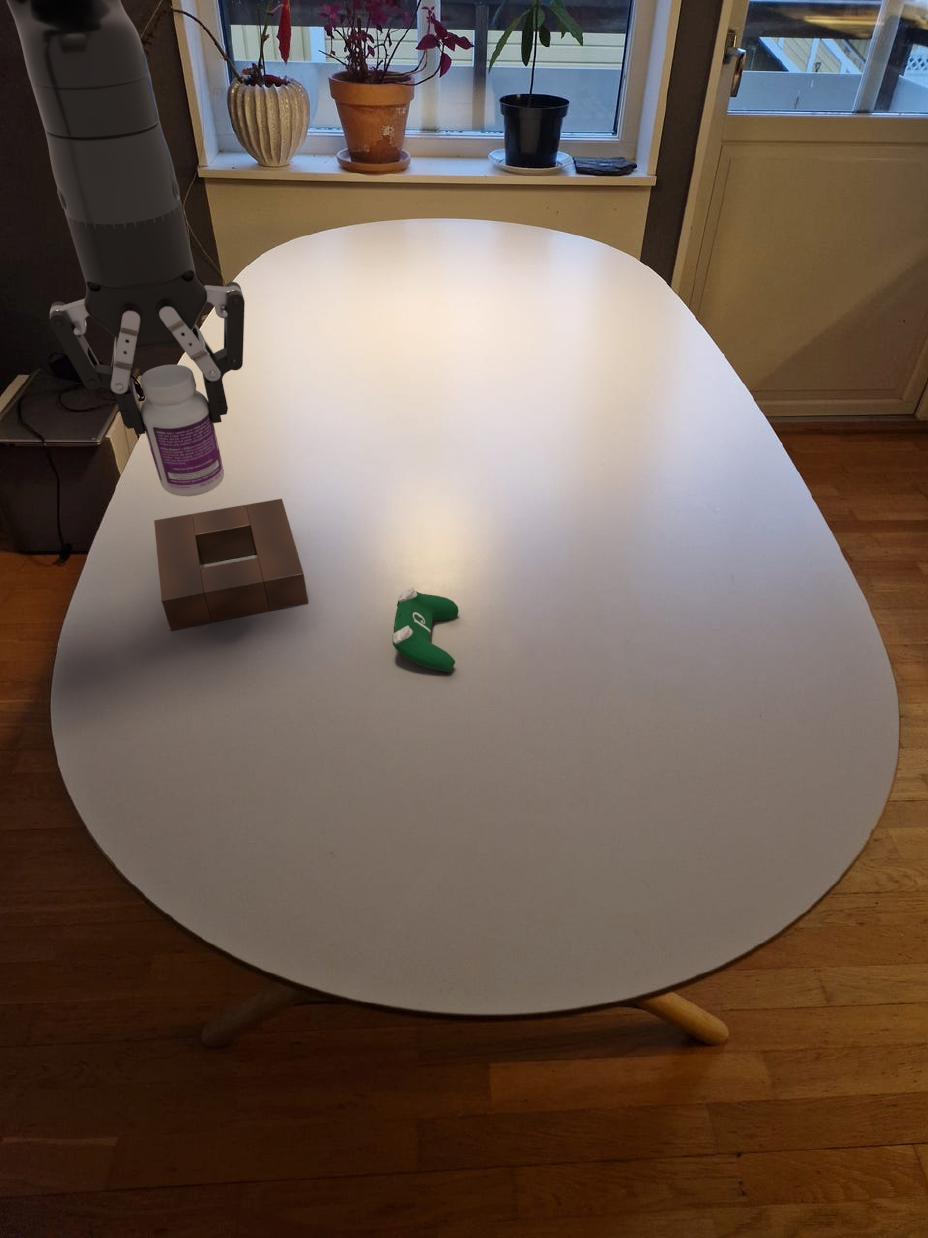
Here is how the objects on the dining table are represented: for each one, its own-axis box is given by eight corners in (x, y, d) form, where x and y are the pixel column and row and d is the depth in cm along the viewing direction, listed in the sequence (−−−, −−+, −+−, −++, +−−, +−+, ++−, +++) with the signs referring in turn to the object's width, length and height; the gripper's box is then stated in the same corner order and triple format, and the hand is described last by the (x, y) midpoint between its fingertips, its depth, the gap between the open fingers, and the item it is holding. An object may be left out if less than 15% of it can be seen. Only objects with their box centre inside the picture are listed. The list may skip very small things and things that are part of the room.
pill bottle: (239, 475, 74) (217, 370, 67) (194, 505, 70) (166, 398, 64) (192, 457, 76) (167, 353, 69) (147, 486, 72) (115, 380, 66)
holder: (170, 631, 86) (161, 600, 83) (162, 549, 95) (153, 520, 93) (308, 603, 89) (303, 573, 86) (286, 527, 99) (281, 498, 96)
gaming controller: (436, 623, 89) (393, 591, 87) (462, 604, 88) (418, 571, 85) (430, 688, 83) (383, 656, 80) (458, 669, 81) (411, 635, 78)
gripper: (225, 174, 62) (262, 389, 74) (12, 193, 59) (85, 414, 70) (236, 207, 57) (274, 433, 68) (3, 229, 54) (84, 462, 65)
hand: (178, 423), depth 69 cm, fingers closed on pill bottle, 5 cm apart
